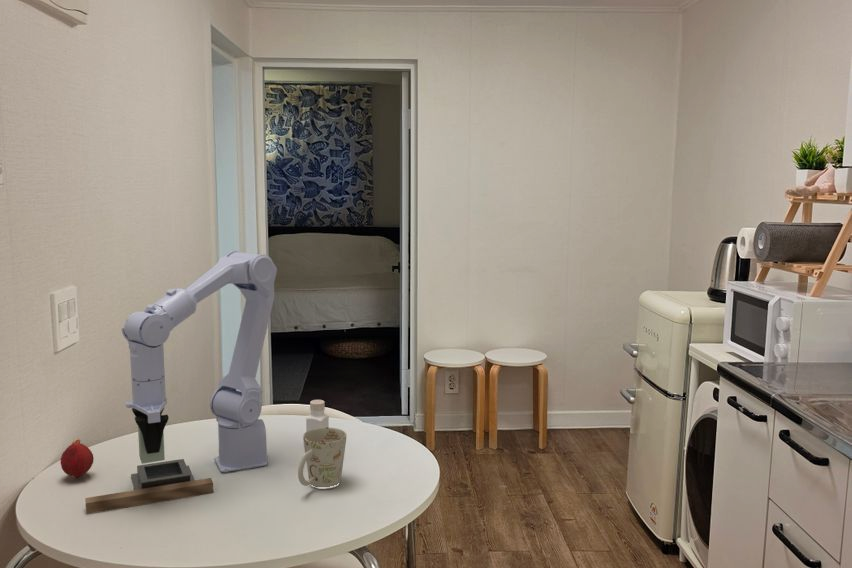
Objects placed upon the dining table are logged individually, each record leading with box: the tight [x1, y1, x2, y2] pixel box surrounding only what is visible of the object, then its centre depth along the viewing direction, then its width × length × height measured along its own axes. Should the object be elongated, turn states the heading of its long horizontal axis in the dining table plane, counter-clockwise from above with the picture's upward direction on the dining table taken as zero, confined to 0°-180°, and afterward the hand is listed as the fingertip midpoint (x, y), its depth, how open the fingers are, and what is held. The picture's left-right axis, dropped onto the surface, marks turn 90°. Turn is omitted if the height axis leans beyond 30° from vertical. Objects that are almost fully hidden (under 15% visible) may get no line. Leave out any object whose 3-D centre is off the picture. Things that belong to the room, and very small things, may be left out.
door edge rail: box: [84, 477, 214, 515], centre depth 137 cm, size 22×2×2 cm, turn 116°
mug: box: [297, 427, 347, 487], centre depth 144 cm, size 8×13×10 cm, turn 155°
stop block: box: [137, 425, 166, 465], centre depth 138 cm, size 4×4×6 cm
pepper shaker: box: [305, 399, 330, 433], centre depth 167 cm, size 4×4×10 cm
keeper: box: [130, 458, 196, 490], centre depth 145 cm, size 11×11×3 cm
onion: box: [59, 438, 95, 479], centre depth 146 cm, size 6×6×8 cm
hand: (151, 448), depth 138 cm, fingers closed on stop block, 4 cm apart
